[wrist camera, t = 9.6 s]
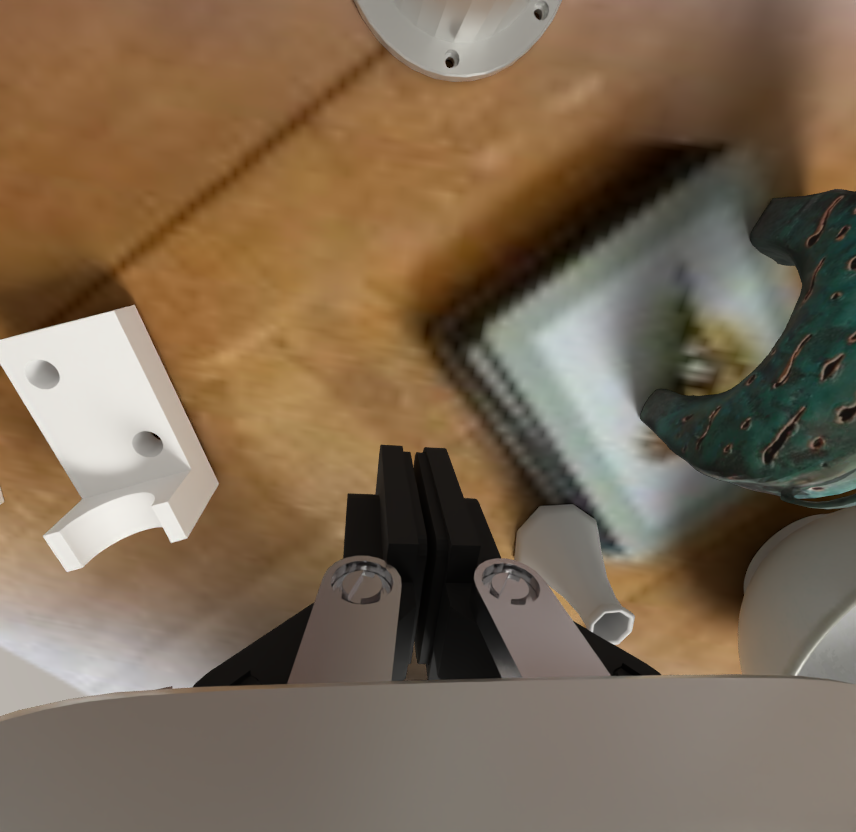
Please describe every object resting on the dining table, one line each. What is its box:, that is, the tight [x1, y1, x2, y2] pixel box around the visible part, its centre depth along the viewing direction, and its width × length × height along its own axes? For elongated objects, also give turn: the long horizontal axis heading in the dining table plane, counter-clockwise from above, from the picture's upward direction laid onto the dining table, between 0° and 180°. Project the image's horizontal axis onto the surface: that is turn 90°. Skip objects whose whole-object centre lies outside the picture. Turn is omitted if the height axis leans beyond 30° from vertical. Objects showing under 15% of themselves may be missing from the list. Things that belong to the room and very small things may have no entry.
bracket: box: [0, 305, 219, 572], centre depth 28 cm, size 13×7×8 cm, turn 14°
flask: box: [514, 504, 635, 645], centre depth 35 cm, size 7×7×10 cm
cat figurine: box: [640, 189, 856, 509], centre depth 26 cm, size 20×6×20 cm, turn 154°
